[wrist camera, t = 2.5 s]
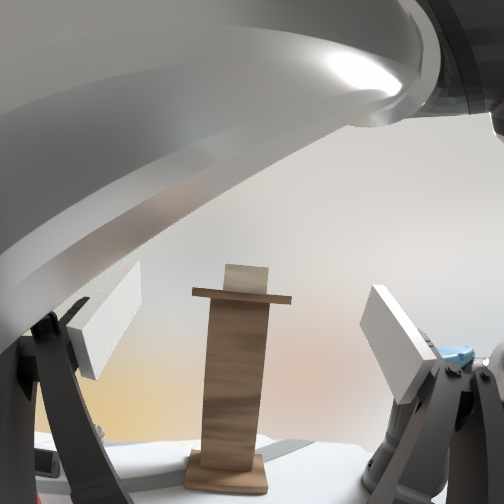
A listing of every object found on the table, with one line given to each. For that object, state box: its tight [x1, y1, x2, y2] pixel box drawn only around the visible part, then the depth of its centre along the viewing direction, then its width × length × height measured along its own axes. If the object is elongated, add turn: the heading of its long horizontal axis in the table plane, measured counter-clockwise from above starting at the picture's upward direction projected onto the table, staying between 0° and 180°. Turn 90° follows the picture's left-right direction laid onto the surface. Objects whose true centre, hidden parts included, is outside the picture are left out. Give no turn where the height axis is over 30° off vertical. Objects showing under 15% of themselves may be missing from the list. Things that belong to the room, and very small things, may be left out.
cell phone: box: [34, 448, 60, 478], centre depth 23 cm, size 7×14×1 cm, turn 121°
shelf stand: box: [184, 287, 292, 493], centre depth 38 cm, size 10×12×30 cm
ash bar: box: [223, 264, 268, 295], centre depth 37 cm, size 20×4×2 cm, turn 4°
